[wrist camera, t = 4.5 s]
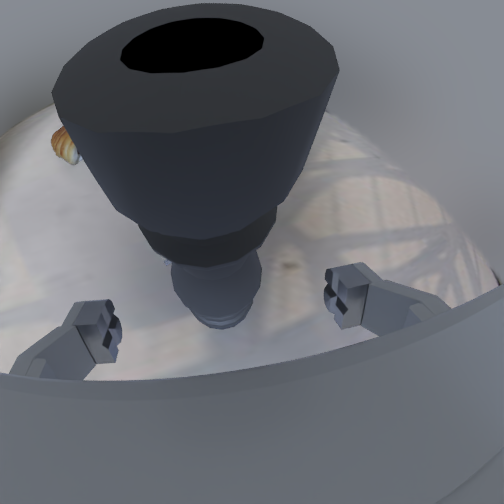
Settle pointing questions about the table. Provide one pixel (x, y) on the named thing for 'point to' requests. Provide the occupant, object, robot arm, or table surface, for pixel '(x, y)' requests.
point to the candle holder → (200, 135)
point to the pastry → (65, 147)
